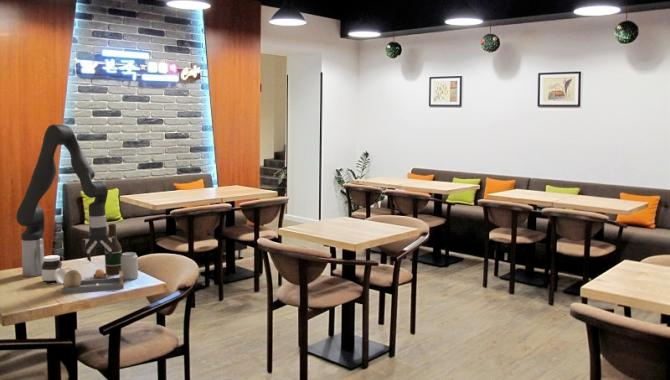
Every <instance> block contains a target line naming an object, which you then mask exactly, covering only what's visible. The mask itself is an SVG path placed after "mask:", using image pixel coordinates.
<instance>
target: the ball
mask: <svg viewBox="0 0 670 380" xmlns="http://www.w3.org/2000/svg"><path fill="white" fill-rule="evenodd" d="M105 273H106V271H105V270H104V269H102V268H97V269H96V270H95V273H94V274H95V275H96V276H97V277H99V276H104V274H105Z"/></svg>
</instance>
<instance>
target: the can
mask: <svg viewBox="0 0 670 380" xmlns="http://www.w3.org/2000/svg"><path fill="white" fill-rule="evenodd" d="M138 257H139V256H138V255H137V253H136V252H133V251H129V252H128V251H127V252H122V256H121V270H123V281H124V280H125V281H132V280H136V279H137V278H138V277H139V260H138V259H139V258H138Z"/></svg>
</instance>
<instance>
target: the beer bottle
mask: <svg viewBox="0 0 670 380" xmlns="http://www.w3.org/2000/svg"><path fill="white" fill-rule="evenodd" d="M116 227H117V224H116V223H110V224H108V225H107V228H108V238H110V237H113V236H114V237H115V245H116V250H113V251H112V258H111V260H109V250H108V249H106V248H105V247H104V263H105V265H104V267H105V273H107V276H117V275H118V276H119V270H121V256H122V254H123V251H122V245H121V243H120V242H119V240H118V237H117V236H118V235H117V228H116ZM107 244H108V245H109V246H110V248H112V247H113V244H112V242H111V241H110V240H108V242H107Z"/></svg>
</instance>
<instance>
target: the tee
mask: <svg viewBox="0 0 670 380" xmlns="http://www.w3.org/2000/svg"><path fill="white" fill-rule="evenodd" d="M95 279H108V275H107V273H106V272H105V274H104V276H99V277H97V276H96V275H95V273H93V277H92V280H95Z"/></svg>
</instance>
